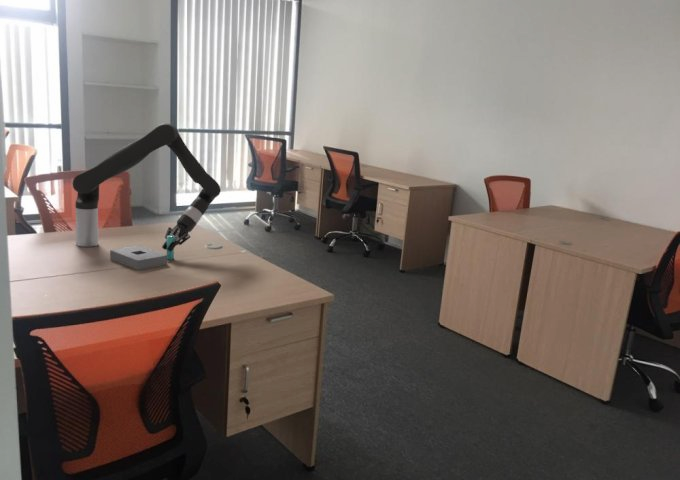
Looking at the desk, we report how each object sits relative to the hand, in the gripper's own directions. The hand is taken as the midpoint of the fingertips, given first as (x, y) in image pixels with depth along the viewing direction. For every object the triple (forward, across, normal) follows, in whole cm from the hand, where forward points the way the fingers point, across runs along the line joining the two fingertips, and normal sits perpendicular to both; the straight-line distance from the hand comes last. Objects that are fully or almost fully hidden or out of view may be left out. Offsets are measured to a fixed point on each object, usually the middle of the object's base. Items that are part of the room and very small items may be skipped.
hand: (166, 249), depth 254 cm
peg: (+2, 0, +5) cm, 5 cm away
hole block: (+11, -4, -4) cm, 13 cm away
